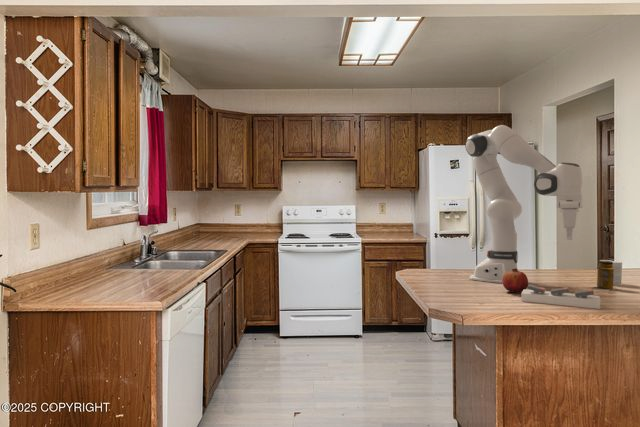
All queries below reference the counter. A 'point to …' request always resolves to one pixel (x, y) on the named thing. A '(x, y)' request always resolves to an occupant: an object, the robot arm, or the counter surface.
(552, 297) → the power strip
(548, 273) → the counter surface
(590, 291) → the rocker right
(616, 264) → the small box
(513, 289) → the fruit
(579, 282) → the counter surface
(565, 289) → the rocker middle
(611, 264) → the condiment
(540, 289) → the rocker left
